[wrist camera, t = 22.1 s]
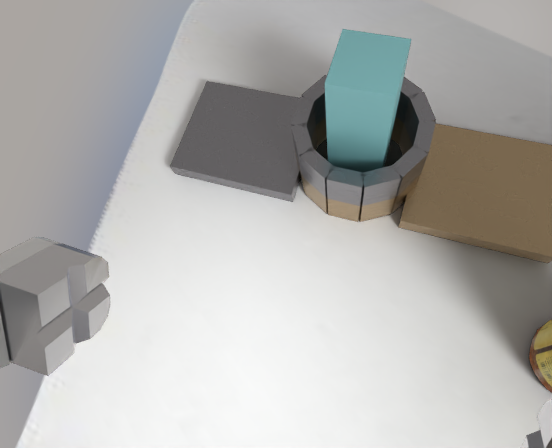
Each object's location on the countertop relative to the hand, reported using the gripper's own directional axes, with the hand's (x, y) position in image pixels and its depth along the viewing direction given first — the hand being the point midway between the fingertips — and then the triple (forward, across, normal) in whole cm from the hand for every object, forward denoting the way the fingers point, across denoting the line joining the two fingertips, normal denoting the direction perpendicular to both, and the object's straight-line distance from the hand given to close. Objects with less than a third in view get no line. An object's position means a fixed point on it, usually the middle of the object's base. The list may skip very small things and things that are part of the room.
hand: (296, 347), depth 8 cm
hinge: (+34, +3, +7) cm, 35 cm away
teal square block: (+34, +3, +7) cm, 35 cm away
